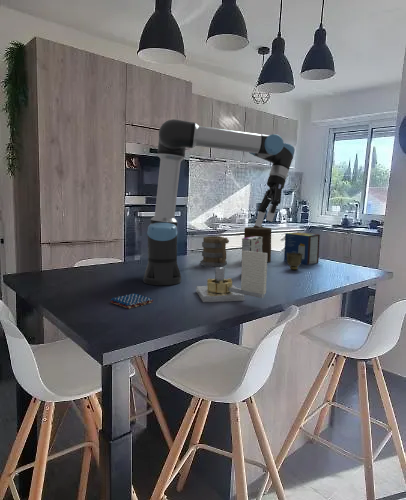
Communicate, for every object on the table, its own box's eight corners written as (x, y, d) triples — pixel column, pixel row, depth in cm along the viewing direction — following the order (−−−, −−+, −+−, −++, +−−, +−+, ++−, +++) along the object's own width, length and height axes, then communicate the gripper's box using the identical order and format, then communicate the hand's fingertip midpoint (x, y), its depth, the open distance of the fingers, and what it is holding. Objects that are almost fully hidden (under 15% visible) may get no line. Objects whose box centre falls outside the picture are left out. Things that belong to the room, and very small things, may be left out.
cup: (303, 271, 176) (304, 254, 175) (287, 270, 177) (288, 254, 175) (299, 268, 184) (300, 252, 183) (284, 267, 184) (285, 252, 183)
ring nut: (202, 289, 129) (203, 247, 127) (217, 285, 135) (218, 245, 133) (257, 301, 115) (259, 254, 113) (271, 296, 121) (272, 252, 119)
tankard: (197, 262, 195) (197, 234, 193) (218, 261, 200) (219, 233, 198) (214, 269, 177) (215, 238, 175) (237, 268, 182) (238, 237, 180)
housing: (203, 302, 122) (203, 272, 120) (196, 291, 135) (196, 264, 134) (244, 300, 124) (245, 271, 123) (233, 290, 138) (234, 263, 137)
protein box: (295, 259, 211) (296, 232, 209) (318, 263, 200) (320, 234, 197) (283, 261, 205) (284, 233, 202) (307, 265, 193) (308, 235, 191)
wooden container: (252, 257, 214) (253, 219, 211) (275, 260, 205) (277, 220, 202) (238, 260, 203) (239, 220, 200) (261, 264, 193) (263, 222, 190)
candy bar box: (252, 270, 177) (254, 236, 175) (262, 271, 174) (263, 236, 172) (240, 273, 168) (241, 237, 166) (250, 275, 165) (251, 238, 163)
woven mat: (155, 304, 121) (155, 297, 121) (128, 311, 113) (128, 304, 113) (135, 297, 128) (135, 292, 128) (108, 304, 120) (108, 298, 120)
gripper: (297, 172, 149) (282, 221, 146) (274, 188, 174) (261, 230, 170) (281, 165, 148) (265, 214, 145) (259, 182, 173) (246, 225, 169)
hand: (263, 223), depth 158 cm, fingers open, 13 cm apart
